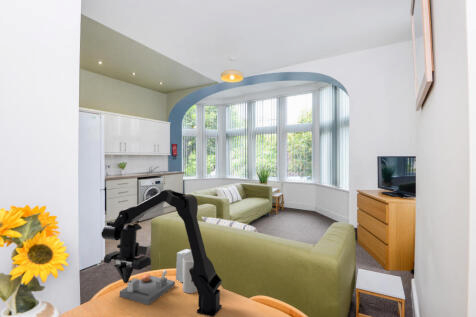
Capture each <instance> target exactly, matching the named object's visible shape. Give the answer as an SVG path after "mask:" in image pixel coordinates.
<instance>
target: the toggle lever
mask: <svg viewBox="0 0 476 317" xmlns="http://www.w3.org/2000/svg"><path fill="white" fill-rule="evenodd" d="M167 274H168V271H167V270H166V269H164V270H162V274H161V277H160V278H161V279H160V280H159V281H161V284H163V283H164V278H165V277H166V275H167Z"/></svg>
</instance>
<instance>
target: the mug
mask: <svg viewBox="0 0 476 317" xmlns="http://www.w3.org/2000/svg"><path fill="white" fill-rule="evenodd" d="M193 264H194V261H193V257H192V256H187V257H184V258H183V283H182V291H183V293H186V294H194V293H196V292H197V288H196V287H195V285H194V283H193V282H191V280H192V279H191V275H190V272H189V269H190V268H192V267H193ZM193 292H194V293H193Z"/></svg>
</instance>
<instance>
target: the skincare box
mask: <svg viewBox="0 0 476 317" xmlns="http://www.w3.org/2000/svg"><path fill="white" fill-rule="evenodd" d="M187 256H192V253H191V249H188V248H185V249H182V250H180V251H179V252H176V267H175V270H176V272H175V281H176V280H178V281H177V282H179V281H180V282H179V283H182V282H183V258H184V257H187Z"/></svg>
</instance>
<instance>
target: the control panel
mask: <svg viewBox="0 0 476 317" xmlns="http://www.w3.org/2000/svg"><path fill="white" fill-rule="evenodd" d="M160 279H161V277H158V276H154V275H150V281H148V282H142V278H141V279H139V289H138V290H136V291H135V292H133V293H131V292H128V291H127V288H128V286H126V287H124V288H123V289H120V290H119V298H122V299H126V300H129V301H133V302H136V303H140V304H144V305H147V306H149V305H151V304H152V303H154V302H155V301H156V300H158V299H160V296H161V297H162V296H163V295H165V294H166V293H167V292H169V291H170V290H171V289H170V288H172V287H173V286H174V285H175V286H176V280H171V279H168V277H166V276H165V278H164V283H163V284H161V281H159V280H160ZM175 286H174V287H175ZM174 287H173V288H174ZM173 288H172V289H173ZM169 289H170V290H169ZM168 290H169V291H168ZM165 292H166V293H165ZM164 293H165V294H164Z"/></svg>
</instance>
